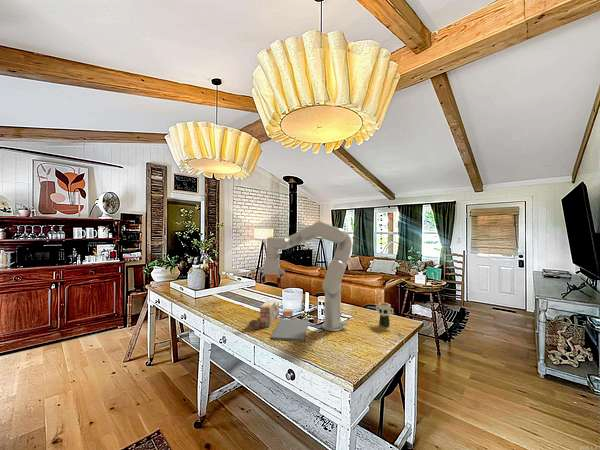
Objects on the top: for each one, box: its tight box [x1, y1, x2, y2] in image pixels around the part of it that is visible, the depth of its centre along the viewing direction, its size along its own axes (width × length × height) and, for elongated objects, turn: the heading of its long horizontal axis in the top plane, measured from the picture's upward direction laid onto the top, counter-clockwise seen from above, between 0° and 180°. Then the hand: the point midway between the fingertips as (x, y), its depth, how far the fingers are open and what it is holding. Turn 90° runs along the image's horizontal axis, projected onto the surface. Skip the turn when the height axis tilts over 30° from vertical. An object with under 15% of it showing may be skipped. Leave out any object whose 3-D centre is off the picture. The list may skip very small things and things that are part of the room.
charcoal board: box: [270, 318, 310, 342], centre depth 154 cm, size 18×28×1 cm, turn 174°
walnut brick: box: [248, 319, 262, 330], centre depth 157 cm, size 6×4×4 cm, turn 79°
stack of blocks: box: [259, 300, 280, 328], centre depth 169 cm, size 21×6×12 cm, turn 170°
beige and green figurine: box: [375, 302, 394, 327], centre depth 163 cm, size 11×7×13 cm, turn 54°
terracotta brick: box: [282, 309, 293, 318], centre depth 178 cm, size 6×4×4 cm, turn 103°
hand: (271, 283), depth 168 cm, fingers open, 9 cm apart
